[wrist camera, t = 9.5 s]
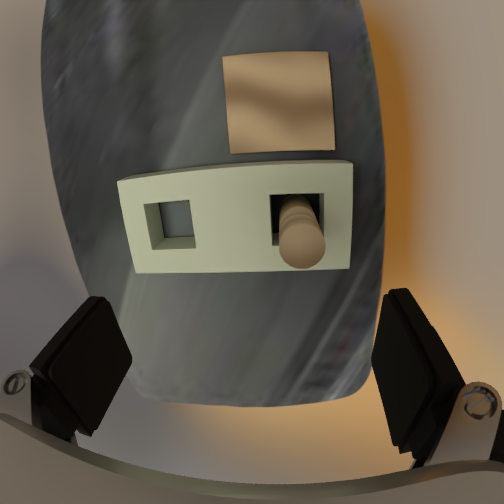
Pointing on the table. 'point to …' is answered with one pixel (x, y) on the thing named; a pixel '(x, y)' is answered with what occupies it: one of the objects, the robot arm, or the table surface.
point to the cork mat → (279, 102)
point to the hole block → (234, 215)
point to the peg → (299, 233)
